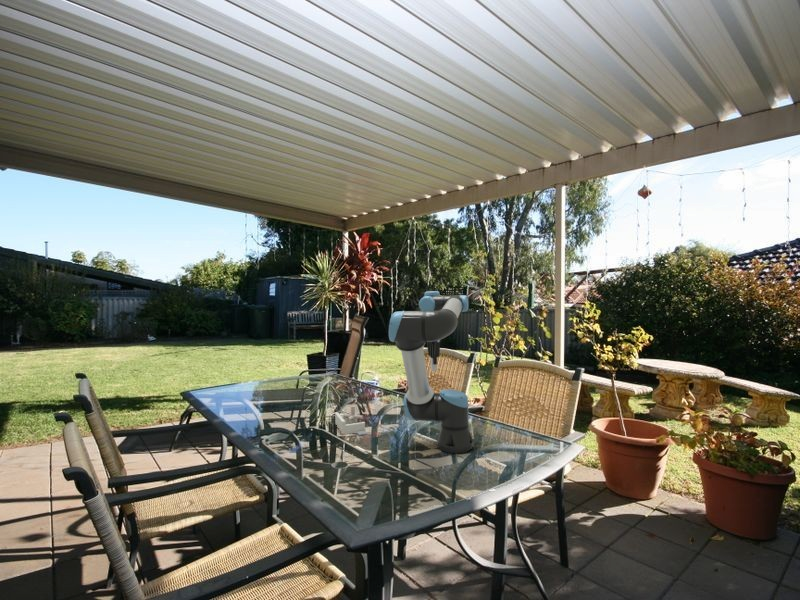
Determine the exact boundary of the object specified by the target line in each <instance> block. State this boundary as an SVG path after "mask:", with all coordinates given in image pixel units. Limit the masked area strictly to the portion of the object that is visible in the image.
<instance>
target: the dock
mask: <svg viewBox="0 0 800 600" xmlns="http://www.w3.org/2000/svg"><path fill="white" fill-rule="evenodd" d="M334 414H335V415H334V416H335V418H334V419H335V426H336V425H337V426H336V427H337V429H338V428H339V429H338V430H339V432H340V431H341V432H340V433H341V435H348V434H357V435H358V437H359V436H360V437H361V436H366V435H368V432H367V431H366V422H365V421H360V422H358V421H359V420H358V419H355V423H353V424H352V420H351V421H349V422H348V421H347V418H344V417H343V415H341V414H340V413H339V411H336V412H334Z"/></svg>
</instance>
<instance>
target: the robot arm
mask: <svg viewBox="0 0 800 600" xmlns="http://www.w3.org/2000/svg"><path fill="white" fill-rule="evenodd" d="M418 308H419V310H409V311H408V310H407V311H406V310H402V311H398V310H397V311H395V312H393V313H392V314H391V316H390V319H389V325H388V339H389V341H390V342H392V343H395V345H396V348H397V349H398V350H400V351H401V356H402V362H403V367H404V372H405V376H406V382H407V385H408V390H407V392H406V393H405V394H404V397H403V411H404V414H405V416H406V417H407V419H408V420H410V421H419V422H420V421H421V422H439V423H440V431H439V434H438V438H437V440H436V441H437V442H436V443H437V449H439V450H440V451H442V452H446V453H451V454H462V453H467V451H468V452H470V451H471V450H470V449H471V448H472V447H473V448H474V440H473V437H472V434H471V431H470V427H469V426H470V425H469V423H470V422H469V407H470V405H469V404H470V403H469V397H468V395H467V394H466V393H464V392H463V391H460V390H457V389H451V388H449V389H448V388H447V389H445V388H444V389H441V390H440V392H438V393H437V392H436V393H435V392H434V389H433V387H432V386H430V383H429V377H428V371H427V365H426V359H425V352H424V348H423V347H425V345H426V347H427V355H428V356H429V358H430V371H431V372H437V371H438V358H440V352H441V341H442V339H445V338H446V337H448V336H450V335H451V334H453V332H454V331H455V330H456V328H457V327H458V324H459V320H458V318H459V316H460V314H461V313H464V312H468V310H469V296H467V295H464V294H459V295H440V291H438V290H435V291H434V290H432V291H431V290H430V291H425V292H424V295H423V297H421V298H420V300H419V302H418ZM469 450H470V451H469Z"/></svg>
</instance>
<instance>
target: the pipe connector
mask: <svg viewBox="0 0 800 600" xmlns="http://www.w3.org/2000/svg"><path fill="white" fill-rule="evenodd" d="M355 407H356V406H355V405H352V406H350V412H351V413H343V415H342V416H343V417H344V418H347V421H348V422H349V421H351V420H352V423H351V424H353V423H356V422H355V419H357V420H363V419H364V415H363V414H362V415H361V414H360V412H359V411H357V412H356V408H355Z"/></svg>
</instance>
